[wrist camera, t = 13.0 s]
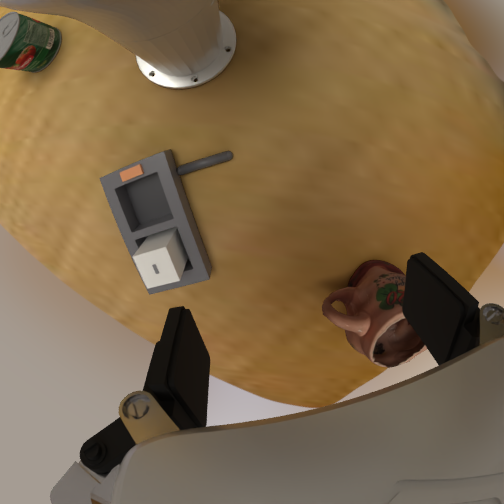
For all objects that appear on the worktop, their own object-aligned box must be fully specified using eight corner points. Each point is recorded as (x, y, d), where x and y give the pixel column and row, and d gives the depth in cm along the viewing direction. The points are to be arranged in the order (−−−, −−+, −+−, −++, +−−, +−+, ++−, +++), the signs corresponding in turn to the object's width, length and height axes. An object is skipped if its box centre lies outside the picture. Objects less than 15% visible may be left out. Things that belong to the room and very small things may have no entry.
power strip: (111, 173, 32) (97, 179, 29) (226, 131, 31) (224, 130, 28) (155, 281, 39) (148, 296, 36) (261, 253, 38) (264, 266, 35)
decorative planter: (295, 312, 43) (315, 379, 30) (315, 241, 38) (350, 296, 25) (396, 316, 45) (432, 368, 32) (421, 257, 40) (471, 301, 27)
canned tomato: (31, 82, 25) (-16, 79, 15) (22, 51, 22) (-21, 44, 12) (67, 48, 24) (22, 33, 14) (56, 18, 21) (15, 1, 11)
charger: (149, 234, 36) (132, 257, 29) (178, 225, 36) (165, 247, 29) (160, 262, 38) (146, 289, 31) (188, 255, 38) (179, 281, 31)
